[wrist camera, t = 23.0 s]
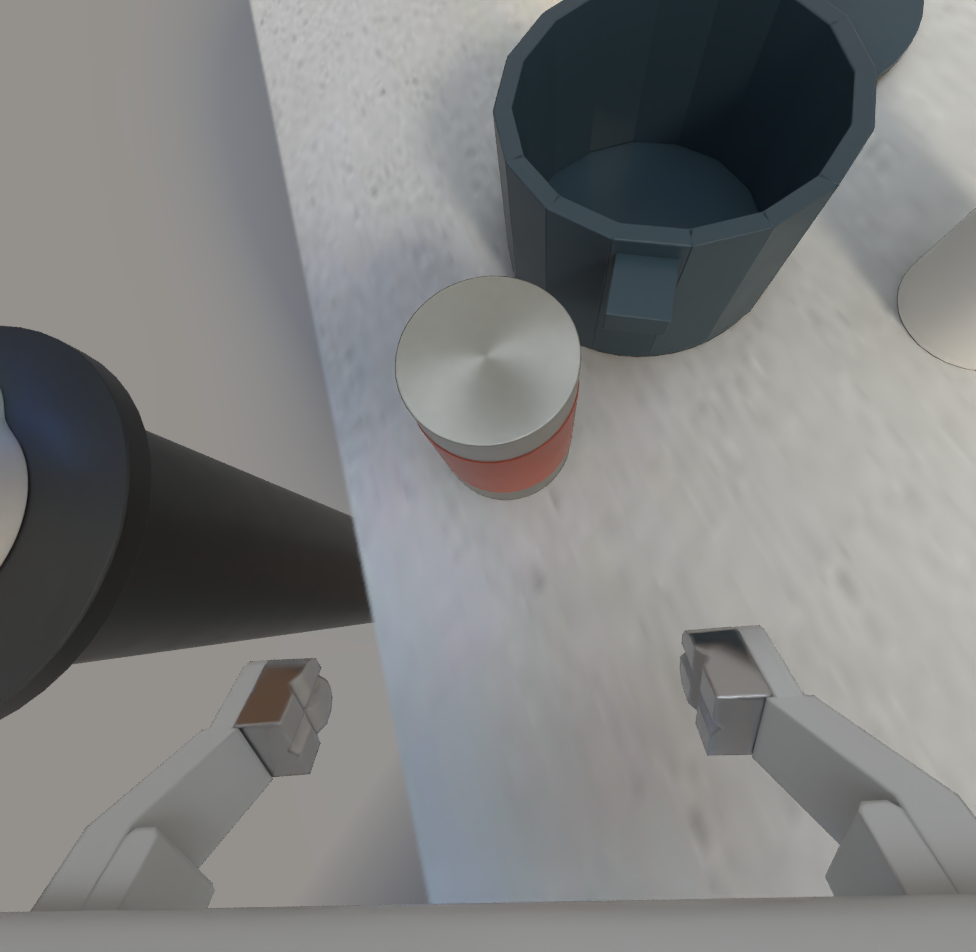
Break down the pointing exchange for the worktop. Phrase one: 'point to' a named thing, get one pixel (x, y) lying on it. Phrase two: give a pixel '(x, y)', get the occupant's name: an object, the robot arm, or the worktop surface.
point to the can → (493, 382)
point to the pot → (673, 156)
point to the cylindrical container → (944, 297)
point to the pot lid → (883, 27)
